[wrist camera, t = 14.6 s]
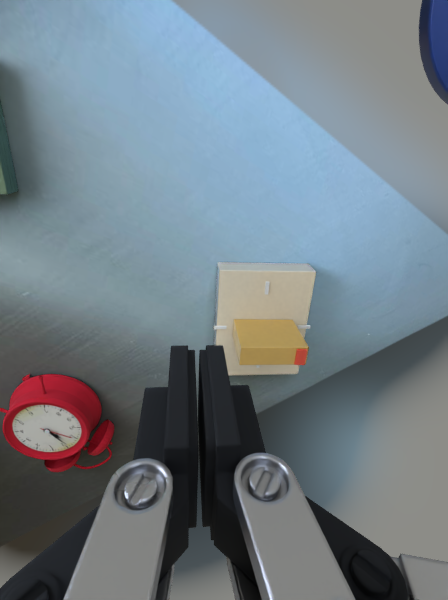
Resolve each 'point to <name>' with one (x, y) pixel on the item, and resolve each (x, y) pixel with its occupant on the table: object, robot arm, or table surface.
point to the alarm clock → (56, 421)
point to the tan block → (269, 342)
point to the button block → (6, 161)
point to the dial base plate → (260, 304)
